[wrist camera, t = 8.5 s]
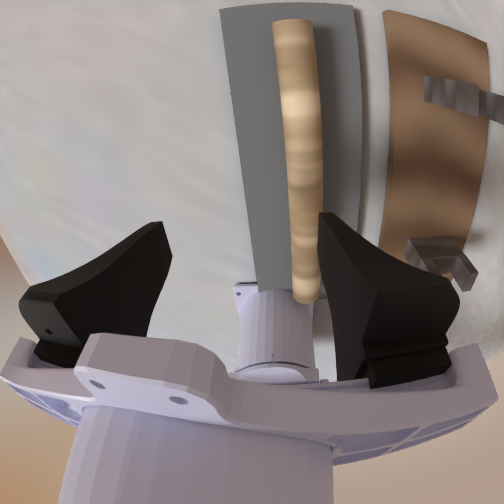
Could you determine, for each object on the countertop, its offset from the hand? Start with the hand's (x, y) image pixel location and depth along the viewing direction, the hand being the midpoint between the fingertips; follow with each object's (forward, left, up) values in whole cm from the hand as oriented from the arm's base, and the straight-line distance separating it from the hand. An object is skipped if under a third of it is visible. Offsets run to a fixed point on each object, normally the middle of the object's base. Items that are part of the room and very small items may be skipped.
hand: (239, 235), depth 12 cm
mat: (0, -4, -9) cm, 10 cm away
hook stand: (0, -16, -9) cm, 18 cm away
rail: (0, -4, -9) cm, 10 cm away
